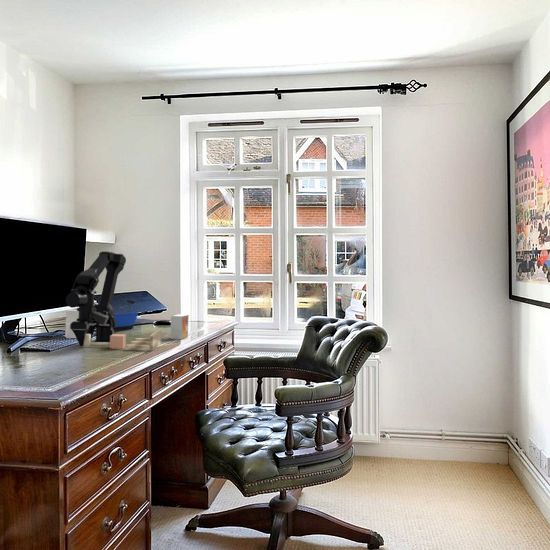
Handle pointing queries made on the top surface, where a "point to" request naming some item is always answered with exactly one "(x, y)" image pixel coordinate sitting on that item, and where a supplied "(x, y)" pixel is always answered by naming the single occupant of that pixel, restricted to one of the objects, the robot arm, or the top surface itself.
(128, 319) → the blue bin
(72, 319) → the white rectangular block
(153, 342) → the lane rack
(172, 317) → the small box
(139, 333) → the top surface
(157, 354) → the top surface
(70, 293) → the robot arm
